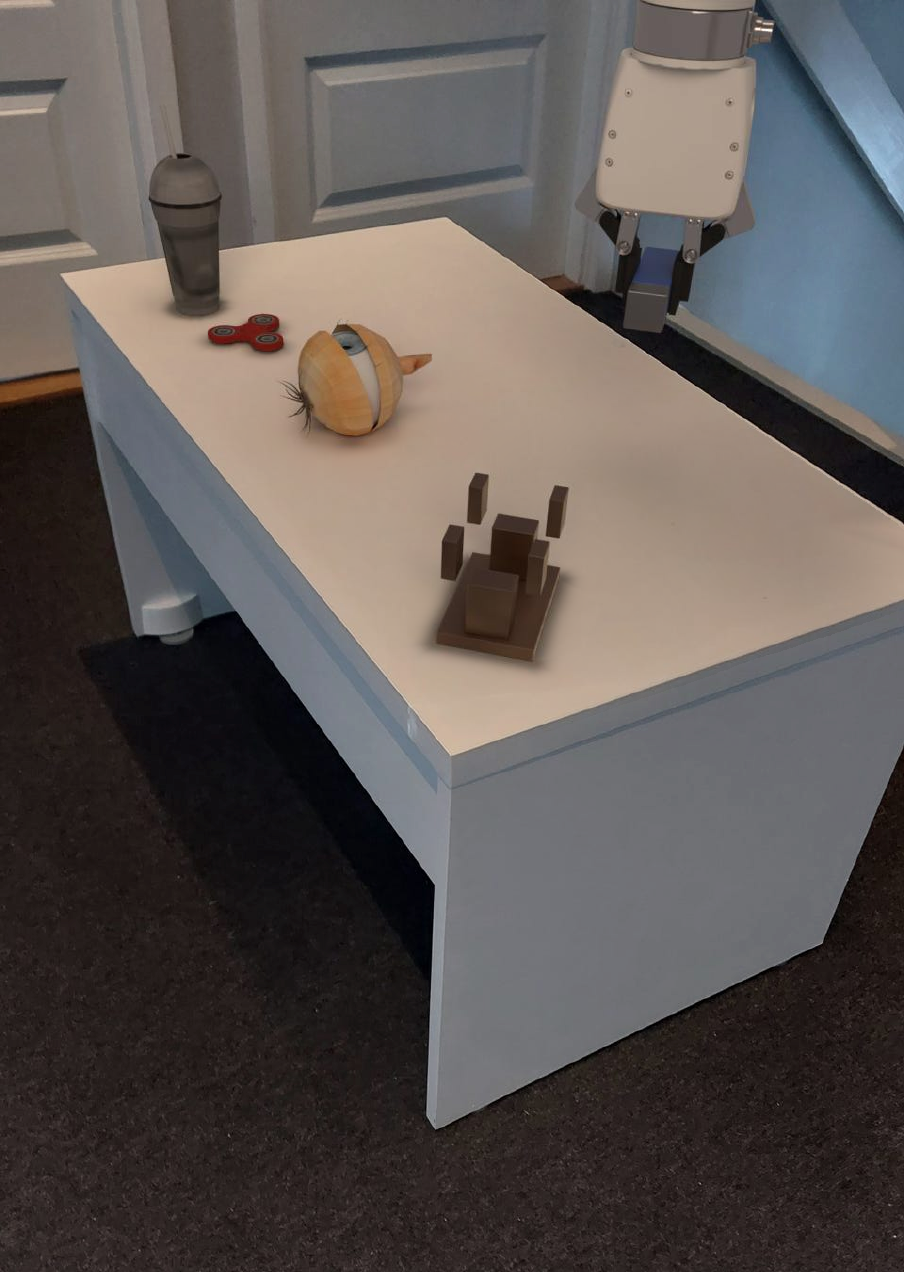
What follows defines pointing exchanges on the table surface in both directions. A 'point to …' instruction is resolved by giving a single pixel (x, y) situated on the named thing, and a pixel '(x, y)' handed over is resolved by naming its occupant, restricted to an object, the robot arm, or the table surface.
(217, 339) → the fidget spinner
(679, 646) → the table surface
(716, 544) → the table surface
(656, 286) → the blue eraser block
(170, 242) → the beverage cup
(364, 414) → the sculpture
